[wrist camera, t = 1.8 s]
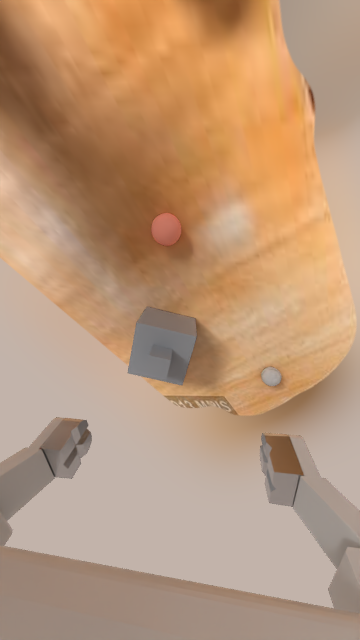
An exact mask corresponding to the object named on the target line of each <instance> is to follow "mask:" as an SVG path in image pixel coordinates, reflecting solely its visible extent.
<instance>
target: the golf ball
mask: <svg viewBox="0 0 360 640" xmlns="http://www.w3.org/2000/svg"><path fill="white" fill-rule="evenodd" d="M261 378H262V380H263V382H264V383H265V384H266V385H269V386H276V385H278V384H279V383H280V381H281V374H280V372H279V371H278V370H277V369H276V368H274V367H267V368H265V369H264V370H263V371H262V373H261Z"/></svg>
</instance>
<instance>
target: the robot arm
mask: <svg viewBox="0 0 360 640" xmlns="http://www.w3.org/2000/svg"><path fill="white" fill-rule="evenodd" d="M87 427H88V423H87V420H80V419H71V418H60V417H56V418H55V419H53V420H52V421H51V422H50V423H49V425H48V426H47V427H46V428H45V429H44V430H43V431H42V433H41V434H40V435H39V436H38V437H37V439H36V440H35V441H34V442H33V443H32V444H31V445H30V446H29V448H24V449H22V450H21V451H19V452H17V453H16V454H14V455H13V456H11V457H9V458H8V459H6V460H4V461H3V462H1V463H0V640H360V510H358V509H357V508H356V507H355V506H354V505H353V504H352V503H351V502H350V501H349V500H348V499H346V497H345V496H344V495H343V494H342V493H340V492H339V491H338V490H337V489H336V488H335V487H334V486H333V485H332V484H331V483H330V482H329V481H328V480H327V479H326V478H321V476H320V474H319V472H318V470H317V468H316V465H315V463H314V461H313V459H312V457H311V454H310V452H309V450H308V448H307V445H306V443H305V441H304V439H303V437H302V436H297V435H286V434H272V433H262V438H261V440H262V446H260V461H261V467H262V472H263V473H264V474H265V476H266V479H265V486H266V491H267V495H268V500H269V503H272V504H278V505H285V506H291V507H293V509H294V510H295V512H296V513H297V515H298V516H299V517H300V519H301V520H302V522H303V523H304V524H305V526H306V527H307V528H308V530H309V531H310V533H311V534H312V535H313V537H314V538H315V539H316V541H317V542H318V544H319V545H320V546H321V548H322V549H323V551H324V552H325V553H326V555H327V556H328V558H329V559H330V560H331V562H332V563H333V565H334V566H335V567H336V569H337V571H336V573H335V575H334V577H333V580H332V582H331V584H330V586H329V588H328V591H329V594H330V597H331V600H332V603H333V606H334V608H329V607H324V606H318V605H313V604H308V603H302V602H297V601H291V600H286V599H281V598H276V597H271V596H265V595H260V594H255V593H250V592H244V591H239V590H234V589H228V588H223V587H217V586H213V585H207V584H202V583H197V582H192V581H186V580H181V579H175V578H170V577H164V576H160V575H154V574H149V573H144V572H139V571H133V570H128V569H123V568H117V567H112V566H106V565H102V564H96V563H91V562H85V561H80V560H75V559H70V558H64V557H59V556H54V555H49V554H44V553H38V552H33V551H28V550H22V549H17V548H11V547H6V546H4V545H5V544H6V542H7V541H8V539H9V537H10V536H11V534H12V528H11V527H10V525H9V524H8V522H7V520H8V519H10V518H11V517H12V516H13V515H14V514H15V513H16V512H17V511H18V510H20V509H21V508H22V507H23V506H24V505H25V504H26V503H28V502H29V501H30V500H31V499H32V498H33V497H34V496H35V495H37V494H38V493H39V492H40V491H41V490H42V489H43V488H44V487H45V486H46V485H48V484H49V483H50V482H51V481H52V480H53V479H54V477H59V478H71V479H72V478H73V476H74V474H75V473H76V471H77V469H78V468H79V466H80V464H81V458H82V457H83V456H84V455H85V454H86V453H87V452H88V450H89V448H90V445H91V441H92V436H91V432H90V431H89V430H88V429H87Z"/></svg>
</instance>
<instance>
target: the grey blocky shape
mask: <svg viewBox="0 0 360 640" xmlns="http://www.w3.org/2000/svg"><path fill="white" fill-rule="evenodd" d="M196 338H197V332H196V319H195V318H192V317H188V316H184V315H180V314H175V313H171V312H167V311H163V310H159V309H155V308H151V307H146V309H145V310H144V312H143V313H142V315H141V316H140V318H139V320H138V321H137V323H136V329H135V334H134V340H133V346H132V351H131V357H130V362H129V368H128V373H129V374H134V375H138V376H143V377H147V378H151V379H156V380H160V381H165V382H169V383H173V384H178V385H183V381H184V378H185V375H186V371H187V368H188V365H189V361H190V358H191V355H192V351H193V348H194V345H195V341H196Z"/></svg>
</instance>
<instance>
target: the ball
mask: <svg viewBox="0 0 360 640" xmlns="http://www.w3.org/2000/svg"><path fill="white" fill-rule="evenodd" d="M151 231H152V235H153V237H154V239H155V240H156V241H157V242H158V243H159V244H161V245H165V246H169V245H172V244H174V243H175V242H177V241H178V239H179V238H180V235H181V224H180V222H179V220H178V219H177V218H176V217H175V216H174V215H172V214H170V213H162V214H160V215H158V216H157V217H156V218H155V219H154V221H153V223H152V227H151Z"/></svg>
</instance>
